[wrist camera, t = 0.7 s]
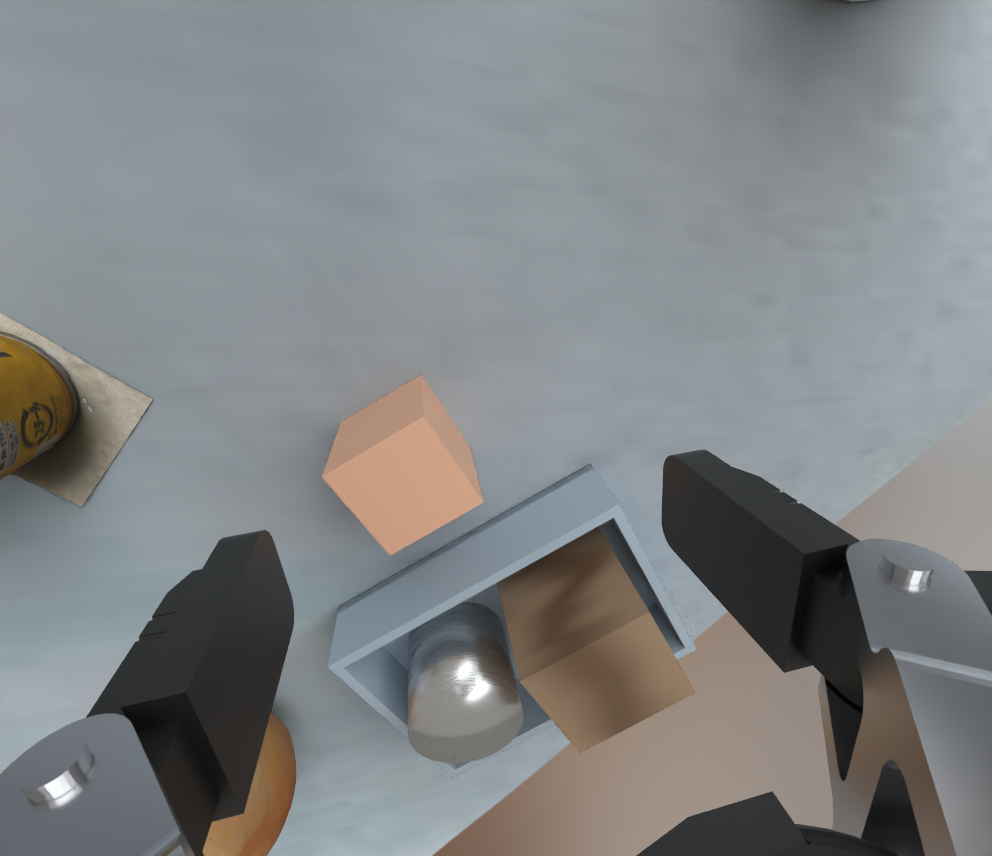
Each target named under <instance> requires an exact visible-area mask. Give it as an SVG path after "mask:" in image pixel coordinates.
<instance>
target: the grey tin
mask: <svg viewBox="0 0 992 856" xmlns="http://www.w3.org/2000/svg"><path fill="white" fill-rule="evenodd" d="M522 722H523V710H522V705H521V701H520V696H519V692H518V688H517V683H516V679H515V674H514V670H513V665H512V661H511V656H510V652H509V647H508V643H507V638H506V634H505V629H504V625H503V623H502V620H501V619H500V617H499V616H498V615H497V614H496V613H495V612H494V611H493V610H491V609H490V608H488V607H486V606H484V605H481V604H478V603H473V602H461V603H459V604H458V605H456V606H454V607H452V608H450V609H449V610H447V611H445V612H443V613H441V614H440V615H438V616H436V617H434V618H432V619H431V620H429V621H427V622H425V623H423V624H422V625H420V626H418V627H416V628H414V629H413V630H411V633H410V635H409V654H408V738H409V741H410V743H411V745H412V746H413V748H414V749H415V750H416V751H417V752H418V753H420V754H421V755H423V756H424V757H426V758H428V759H431V760H434V761H438V762H443V763H466V762H472V761H476V760H479V759H483V758H485V757H488V756H490V755H492V754H494V753H496V752H498V751H499V750H501V749H502V748H504V747H505V746H506V745H508V744H509V743H510V742H511V741H512V740H513V739H514V738H515V736H516V735H517V733H518V732H519V730H520V728H521V725H522Z"/></svg>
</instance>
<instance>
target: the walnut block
mask: <svg viewBox="0 0 992 856" xmlns="http://www.w3.org/2000/svg"><path fill="white" fill-rule="evenodd" d="M497 585H498V590H499V594H500V598H501V602H502V607H503V611H504V615H505V620H506V624H507V628H508V633H509V637H510V641H511V646H512V650H513V654H514V659H515V663H516V667H517V672H518V676H519V680H520V683H521V684H522V685H523V686H524V687H525V688H526V690H527V691H528V692H529V693H530V694H531V696H532V697H533V698H534V699H535V700H536V702H537V703H538V704H539V705H540V706H541V708H542V709H543V710H544V711H545V712H546V713H547V715H548V716H549V717H550V718H551V719H552V721H553V722H554V723H555V724H556V725H557V727H558V728H559V729H560V730H561V731H562V732H563V734H564V735H565V736H566V737H567V738H568V740H569V741H570V742H571V743H572V744H573V746H574V747H575V748H576V749H577V750H578V751H579V753H581V752H582V751H585V750H587V749H588V748H590V747H592V746H594V745H596V744H598V743H600V742H602V741H603V740H606V739H608V738H610V737H612V736H613V735H615V734H617V733H619V732H621V731H623V730H625V729H627V728H629V727H631V726H633V725H634V724H637V723H638V722H640V721H642V720H644V719H646V718H648V717H650V716H652V715H654V714H656V713H658V712H659V711H661V710H663V709H665V708H667V707H669V706H671V705H673V704H675V703H677V702H679V701H681V700H683V699H684V698H686V697H688V696H690V695H692V694H694V693H695V691H694V689H693V687H692V686H691V684H690V682H689V680H688V679H687V677H686V675H685V673H684V671H683V670H682V668H681V666H680V664H679V663H678V661H677V659H676V657H675V656H674V654H673V652H672V650H671V649H670V647H669V645H668V643H667V642H666V640H665V638H664V636H663V635H662V633H661V631H660V629H659V628H658V626H657V624H656V622H655V621H654V619H653V617H652V615H651V614H650V612H649V610H648V609H647V607H646V605H645V604H644V602H643V600H642V599H641V597H640V595H639V594H638V592H637V590H636V589H635V587H634V585H633V584H632V582H631V580H630V579H629V577H628V575H627V574H626V572H625V570H624V569H623V567H622V565H621V564H620V562H619V560H618V559H617V557H616V555H615V554H614V552H613V550H612V549H611V547H610V545H609V544H608V542H607V541H606V539H605V537H604V536H603V534H602V532H601V531H600V529H599V527H596V528H594V529H592V530H591V531H589V532H587V533H585V534H583V535H582V536H580V537H578V538H576V539H574V540H573V541H571V542H569V543H567V544H565V545H564V546H562V547H560V548H558V549H556V550H555V551H553V552H551V553H549V554H547V555H546V556H544V557H542V558H540V559H538V560H537V561H535V562H533V563H531V564H529V565H528V566H526V567H524V568H522V569H520V570H519V571H517V572H515V573H513V574H511V575H510V576H508V577H506V578H504V579H502V580H501V581H499V582H497Z"/></svg>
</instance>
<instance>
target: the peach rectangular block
mask: <svg viewBox="0 0 992 856" xmlns="http://www.w3.org/2000/svg"><path fill="white" fill-rule="evenodd" d="M322 478H323V479H324V480H325V481H326V483H327V484H328V485H329V486H330V487H331V488H332V489H333V491H334V492H335V493H336V494H337V495H338V496H339V498H340V499H341V500H342V501H343V502H344V503H345V504H346V506H347V507H348V508H349V509H350V510H351V511H352V512H353V514H354V515H355V516H356V517H357V518H358V519H359V520H360V522H361V523H362V524H363V525H364V526H365V527H366V528H367V530H368V531H369V532H370V533H371V534H372V535H373V537H374V538H375V539H376V540H377V541H378V542H379V543H380V545H381V546H382V547H383V548H384V549H385V550H386V551H387V553H388V554H389V555H390V556H391V555H392V554H394V553H396V552H398V551H400V550H401V549H403V548H405V547H407V546H408V545H410V544H412V543H414V542H415V541H417V540H419V539H421V538H422V537H424V536H426V535H428V534H429V533H431V532H433V531H435V530H436V529H438V528H440V527H442V526H443V525H445V524H447V523H449V522H450V521H452V520H454V519H456V518H457V517H459V516H461V515H463V514H464V513H466V512H468V511H470V510H471V509H473V508H475V507H477V506H478V505H480V504H482V503H484V502H483V498H482V494H481V490H480V486H479V482H478V478H477V474H476V470H475V466H474V462H473V458H472V454H471V450H470V446H469V444H468V443H467V441H466V440H465V439H464V437H463V436H462V434H461V433H460V431H459V430H458V428H457V427H456V425H455V424H454V422H453V421H452V419H451V418H450V416H449V415H448V413H447V412H446V410H445V409H444V407H443V406H442V404H441V403H440V401H439V400H438V398H437V397H436V395H435V394H434V392H433V391H432V389H431V388H430V386H429V385H428V383H427V382H426V380H425V379H424V377H423V376H422V374H421V375H419V376H417V377H416V378H414V379H412V380H411V381H409V382H407V383H406V384H404V385H402V386H401V387H399V388H397V389H396V390H394V391H392V392H391V393H389V394H387V395H386V396H384V397H382V398H381V399H379V400H377V401H376V402H374V403H372V404H371V405H369V406H367V407H366V408H364V409H362V410H361V411H359V412H357V413H356V414H354V415H352V416H351V417H349V418H347V419H346V420H344V421H342V422H341V424H340V426H339V429H338V432H337V435H336V438H335V440H334V443H333V446H332V449H331V452H330V454H329V457H328V460H327V463H326V466H325V468H324V471H323V474H322Z"/></svg>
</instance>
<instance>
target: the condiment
mask: <svg viewBox="0 0 992 856" xmlns="http://www.w3.org/2000/svg"><path fill="white" fill-rule="evenodd" d="M83 398H85V399H86V401H87V403H84V402H83V400H82V399H83ZM152 400H153V399H151V398H149V397H147V396H146V395H144V394H142V393H140V392H138V391H136V390H134V389H132V388H131V387H129V386H128V385H126V384H125V383H123V382H121V381H119V380H117V379H115V378H113V377H111V376H109V375H107V374H106V373H104V372H102V371H101V370H99V369H97V368H96V367H94V366H92V365H90V364H88V363H86V362H84V361H82V360H81V359H80V358H78V357H76V356H74V355H72V354H71V353H69V352H68V351H66V350H64V349H63V348H61V347H60V346H58V345H56V344H55V343H53V342H51V341H50V340H48V339H46V338H44V337H43V336H41V335H39V334H37V333H35V332H33V331H31V330H29V329H28V328H26V327H24V326H23V325H21V324H19V323H18V322H16V321H14V320H12V319H10V318H9V317H7V316H5V315H4V314H2V313H0V480H1V479H2V478H4V477H5V476H7V475H9V474H13V475H16V476H18V477H21V478H23V479H25V480H26V481H28V482H31V483H34V484H36V485H38V486H40V487H42V488H45V489H47V490H49V491H50V492H52V493H54V494H55V495H57V496H59V497H60V498H63V499H66V500H68V501H70V502H73V503H75V504H77V505H79V506H81V507H82V506H83V504H84V503H85V501H86V500H87V498H88V497H89V495H90V494H91V493H92V491H93V490H94V488H95V487H96V485H97V484H98V482H99V481H100V479H101V478H102V476H103V474H104V473H105V472H106V470H107V469H108V468H109V466H110V464H111V463H112V461H113V460H114V458H115V457H116V455H117V454H118V452H119V451H120V449H121V448H122V446H123V444H124V443H125V442H126V440H127V438H128V437H129V435H130V433H131V432H132V430H133V429H134V427H135V426H136V425H137V423H138V422H139V420H140V419H141V417H142V415H143V414H144V412H145V410H146V409H147V407H148V406H149V404H150V403H151V401H152ZM87 406H91V408H92V410H93V411H92V412H90V411H89V410H88V407H87Z"/></svg>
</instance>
